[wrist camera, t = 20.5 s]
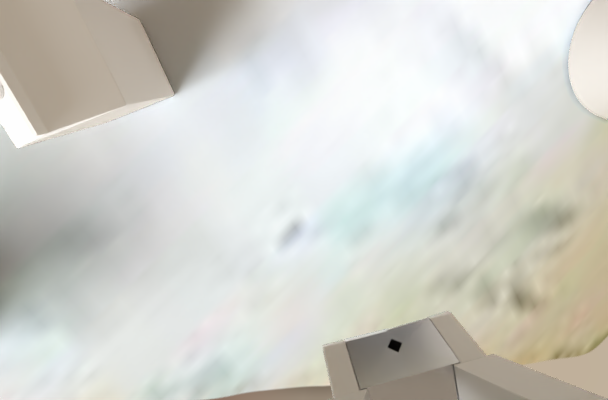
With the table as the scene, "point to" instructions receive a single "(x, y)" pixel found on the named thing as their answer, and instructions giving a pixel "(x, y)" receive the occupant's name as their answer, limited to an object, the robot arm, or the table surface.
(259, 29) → the table surface
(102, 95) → the milk carton
